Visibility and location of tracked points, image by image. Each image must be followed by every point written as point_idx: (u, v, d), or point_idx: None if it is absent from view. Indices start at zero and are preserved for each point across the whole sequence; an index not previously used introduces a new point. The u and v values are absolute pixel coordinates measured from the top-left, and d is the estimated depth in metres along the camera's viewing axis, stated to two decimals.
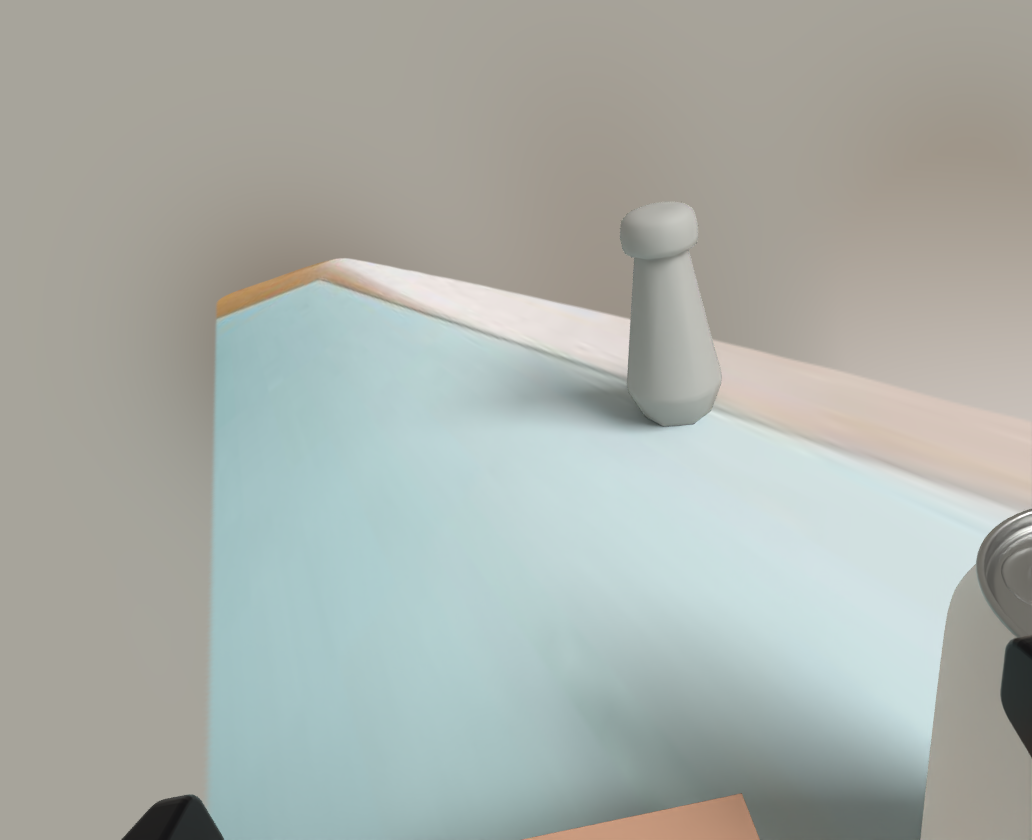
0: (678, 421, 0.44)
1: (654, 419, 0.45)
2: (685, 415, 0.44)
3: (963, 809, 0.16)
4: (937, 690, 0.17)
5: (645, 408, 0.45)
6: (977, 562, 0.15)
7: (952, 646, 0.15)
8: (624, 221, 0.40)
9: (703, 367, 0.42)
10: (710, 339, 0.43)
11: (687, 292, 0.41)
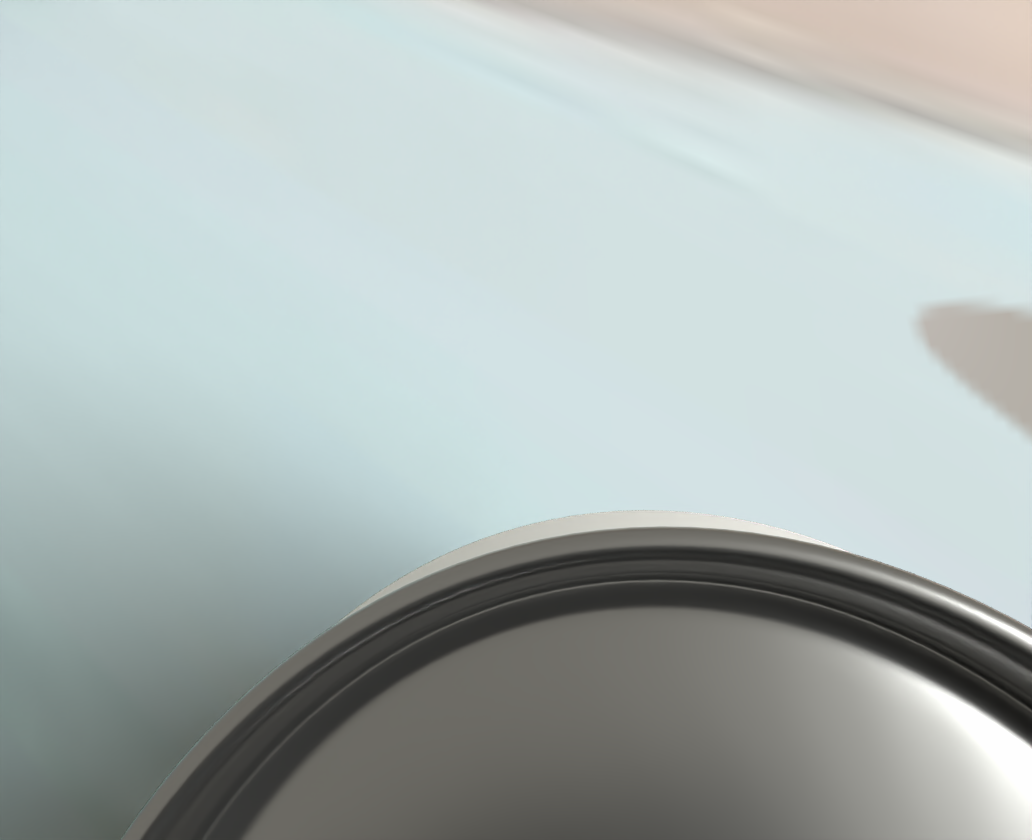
0: None
1: None
2: None
3: None
4: None
5: None
6: None
7: None
8: None
9: None
10: None
11: None
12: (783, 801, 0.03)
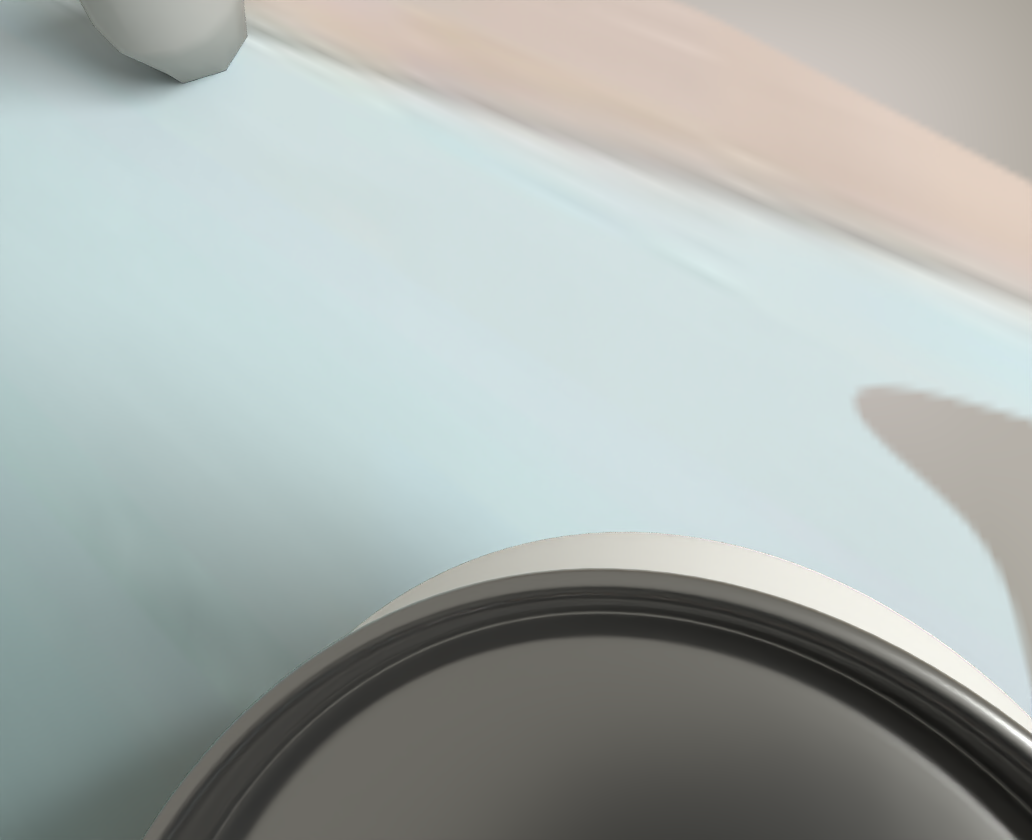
0: (200, 72, 0.29)
1: (165, 72, 0.29)
2: (206, 62, 0.28)
3: None
4: None
5: (140, 61, 0.28)
6: None
7: None
8: None
9: None
10: None
11: None
12: (705, 813, 0.04)
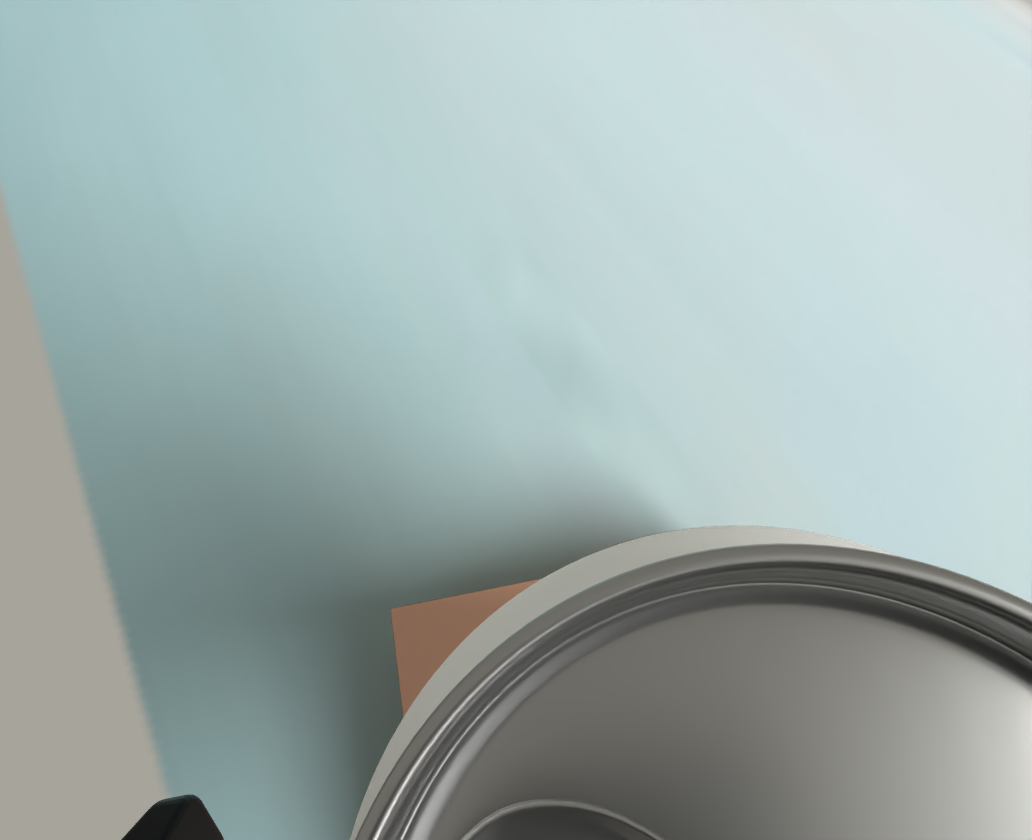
0: None
1: None
2: None
3: None
4: None
5: None
6: None
7: None
8: None
9: None
10: None
11: None
12: (876, 748, 0.04)
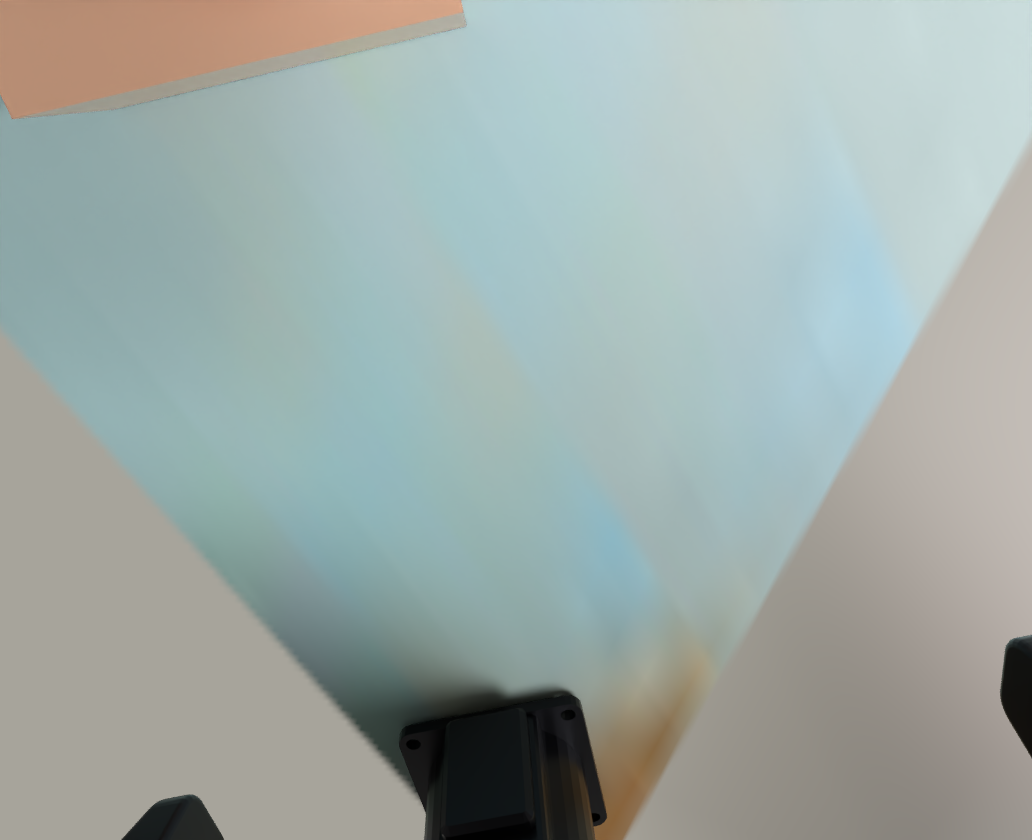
0: None
1: None
2: None
3: None
4: None
5: None
6: None
7: None
8: None
9: None
10: None
11: None
12: None
